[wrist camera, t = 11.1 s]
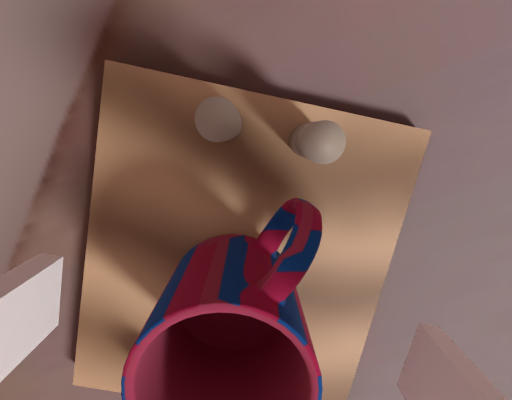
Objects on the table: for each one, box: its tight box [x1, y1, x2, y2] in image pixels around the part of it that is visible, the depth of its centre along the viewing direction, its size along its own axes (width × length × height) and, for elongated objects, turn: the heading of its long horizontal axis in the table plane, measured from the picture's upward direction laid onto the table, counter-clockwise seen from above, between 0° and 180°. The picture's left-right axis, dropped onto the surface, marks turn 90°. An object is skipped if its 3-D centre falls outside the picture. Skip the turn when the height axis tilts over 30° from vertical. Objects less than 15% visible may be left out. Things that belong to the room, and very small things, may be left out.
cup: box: [121, 197, 323, 400], centre depth 13 cm, size 7×10×7 cm
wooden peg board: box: [73, 59, 432, 400], centre depth 15 cm, size 18×16×5 cm
